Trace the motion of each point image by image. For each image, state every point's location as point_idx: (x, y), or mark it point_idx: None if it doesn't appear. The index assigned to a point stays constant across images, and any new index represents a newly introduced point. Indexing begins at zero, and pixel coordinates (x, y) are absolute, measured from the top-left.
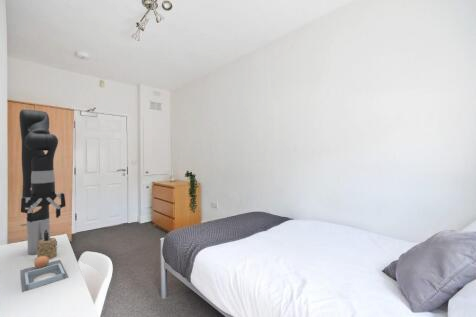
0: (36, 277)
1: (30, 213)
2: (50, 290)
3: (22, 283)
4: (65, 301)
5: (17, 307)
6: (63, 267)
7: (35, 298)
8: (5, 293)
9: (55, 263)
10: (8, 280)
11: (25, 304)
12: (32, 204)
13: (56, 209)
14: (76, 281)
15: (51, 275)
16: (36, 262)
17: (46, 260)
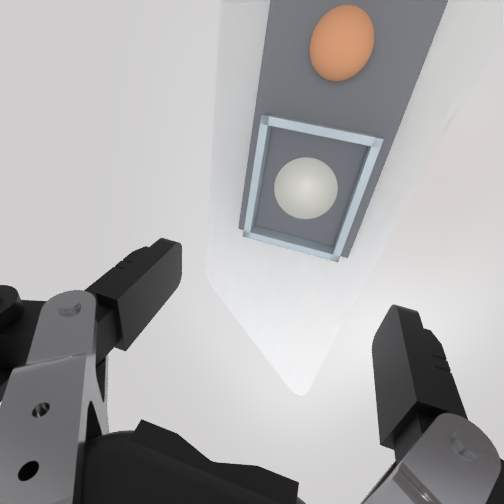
0: (290, 157)
1: (113, 344)
2: (288, 273)
3: (250, 166)
4: (288, 342)
5: (223, 281)
6: (387, 151)
7: (255, 278)
8: (212, 181)
9: (400, 51)
10: (227, 64)
11: (236, 284)
12: (17, 421)
13: (388, 438)
14: (349, 289)
15: (323, 195)
16: (313, 62)
17: (352, 74)
